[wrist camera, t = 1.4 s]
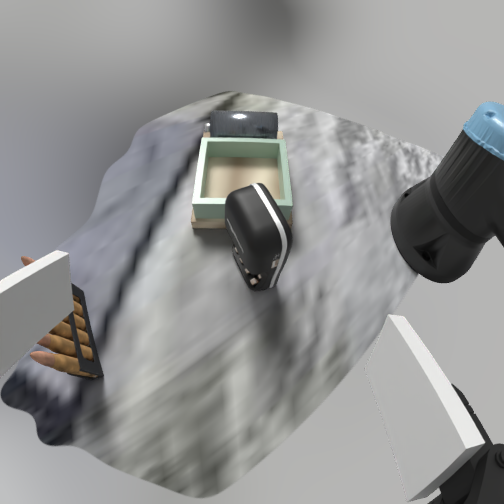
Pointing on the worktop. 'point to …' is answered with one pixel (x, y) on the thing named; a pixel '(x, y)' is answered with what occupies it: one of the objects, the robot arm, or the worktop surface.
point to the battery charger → (257, 235)
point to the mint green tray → (239, 164)
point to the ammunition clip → (71, 341)
